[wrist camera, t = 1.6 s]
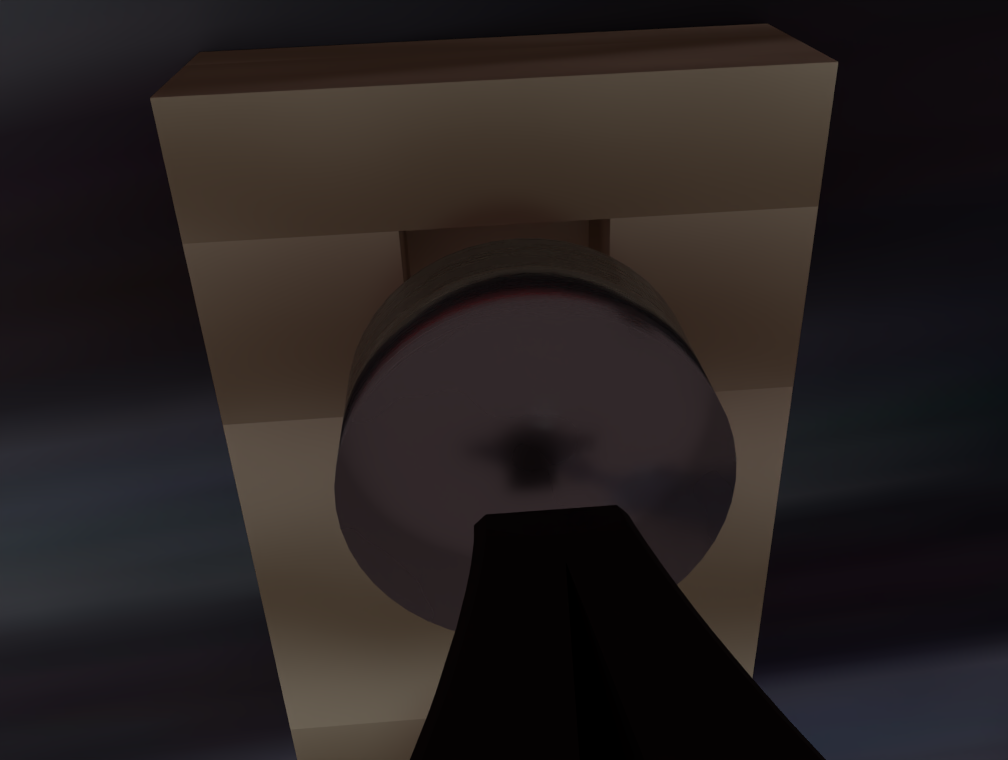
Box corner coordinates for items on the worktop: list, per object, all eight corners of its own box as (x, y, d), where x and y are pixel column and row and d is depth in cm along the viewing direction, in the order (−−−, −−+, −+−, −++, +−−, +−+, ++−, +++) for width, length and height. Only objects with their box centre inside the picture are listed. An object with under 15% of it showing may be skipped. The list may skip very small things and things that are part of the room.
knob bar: (199, 52, 15) (149, 98, 12) (767, 23, 15) (838, 62, 12) (378, 984, 28) (373, 1099, 26) (673, 956, 29) (698, 1067, 26)
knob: (340, 192, 12) (307, 328, 9) (666, 174, 13) (755, 299, 9) (374, 462, 15) (358, 654, 11) (652, 443, 15) (719, 626, 11)
